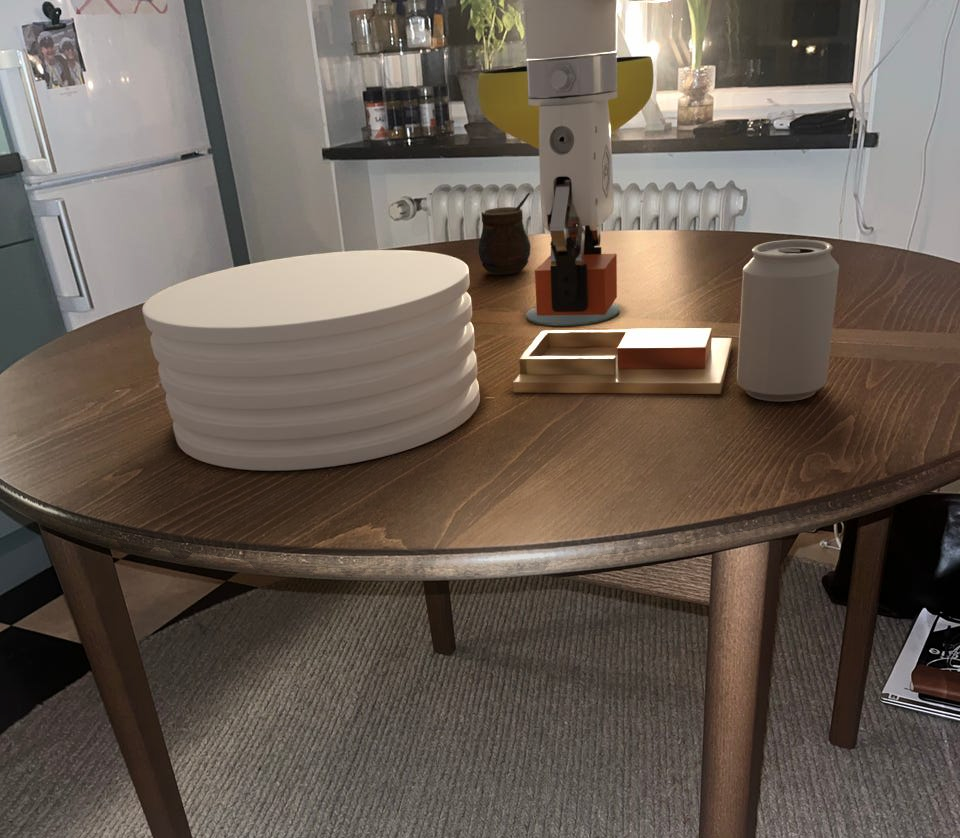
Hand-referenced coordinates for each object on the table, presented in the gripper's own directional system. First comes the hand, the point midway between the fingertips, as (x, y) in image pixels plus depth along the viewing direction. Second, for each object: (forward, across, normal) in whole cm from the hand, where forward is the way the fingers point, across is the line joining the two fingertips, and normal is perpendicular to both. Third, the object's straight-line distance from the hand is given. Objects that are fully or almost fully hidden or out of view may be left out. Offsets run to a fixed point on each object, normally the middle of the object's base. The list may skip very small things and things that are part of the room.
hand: (577, 299), depth 91 cm
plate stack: (+7, -13, +21) cm, 26 cm away
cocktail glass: (+7, +21, +5) cm, 23 cm away
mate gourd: (+7, +44, +19) cm, 48 cm away
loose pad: (+1, 0, 0) cm, 1 cm away
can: (+7, -6, -19) cm, 21 cm away
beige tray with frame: (+7, 0, -4) cm, 8 cm away
